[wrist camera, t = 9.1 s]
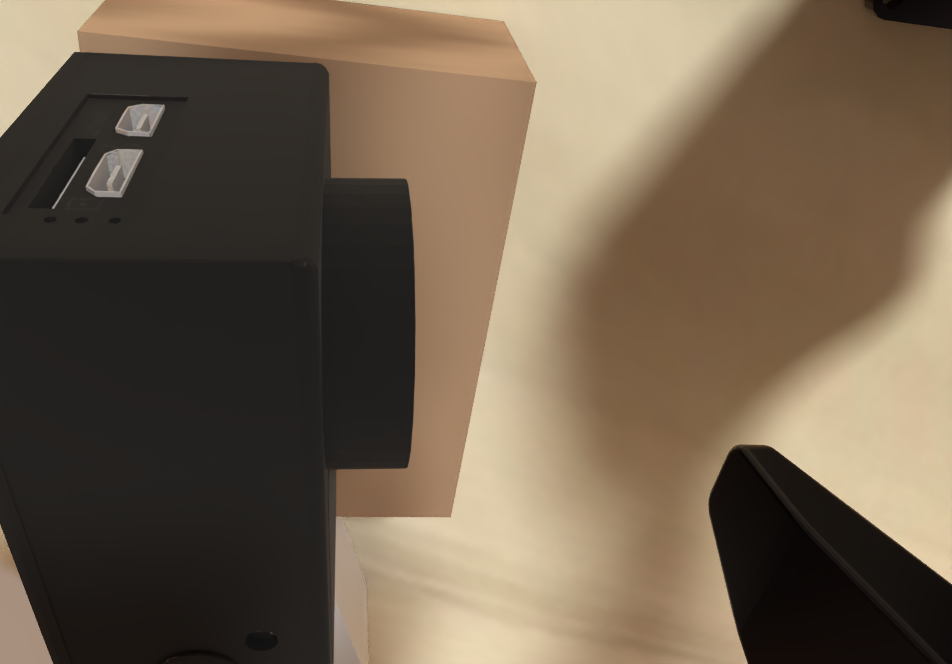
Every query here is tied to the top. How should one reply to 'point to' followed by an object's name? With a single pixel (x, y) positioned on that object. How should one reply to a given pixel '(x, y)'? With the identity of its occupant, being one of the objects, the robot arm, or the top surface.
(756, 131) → the top surface
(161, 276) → the digital camera
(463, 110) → the light brown rectangular block
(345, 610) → the grey block
